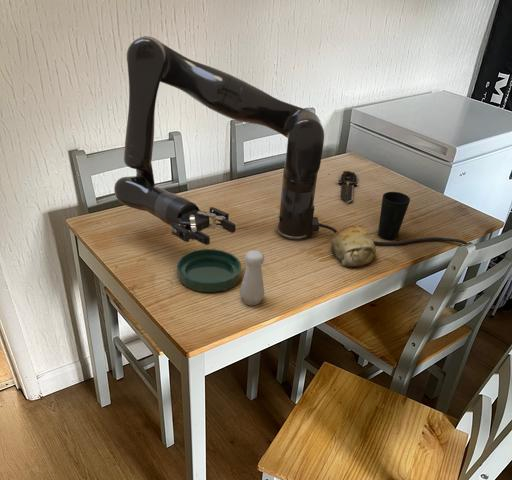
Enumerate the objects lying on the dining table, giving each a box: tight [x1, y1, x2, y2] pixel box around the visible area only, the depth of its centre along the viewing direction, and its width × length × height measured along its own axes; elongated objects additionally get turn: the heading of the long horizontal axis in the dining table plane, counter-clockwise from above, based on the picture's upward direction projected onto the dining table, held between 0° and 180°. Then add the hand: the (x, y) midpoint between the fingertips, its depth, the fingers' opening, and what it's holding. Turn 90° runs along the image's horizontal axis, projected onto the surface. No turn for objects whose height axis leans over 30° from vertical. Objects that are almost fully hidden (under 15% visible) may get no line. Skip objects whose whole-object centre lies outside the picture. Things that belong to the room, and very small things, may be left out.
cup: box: [377, 191, 411, 241], centre depth 155 cm, size 8×8×12 cm
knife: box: [337, 170, 358, 204], centre depth 182 cm, size 25×6×1 cm, turn 165°
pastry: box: [330, 225, 377, 268], centre depth 146 cm, size 14×12×8 cm
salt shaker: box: [239, 249, 266, 306], centre depth 125 cm, size 6×6×13 cm
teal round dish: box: [176, 248, 242, 293], centre depth 136 cm, size 16×16×3 cm
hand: (221, 234), depth 126 cm, fingers open, 8 cm apart
